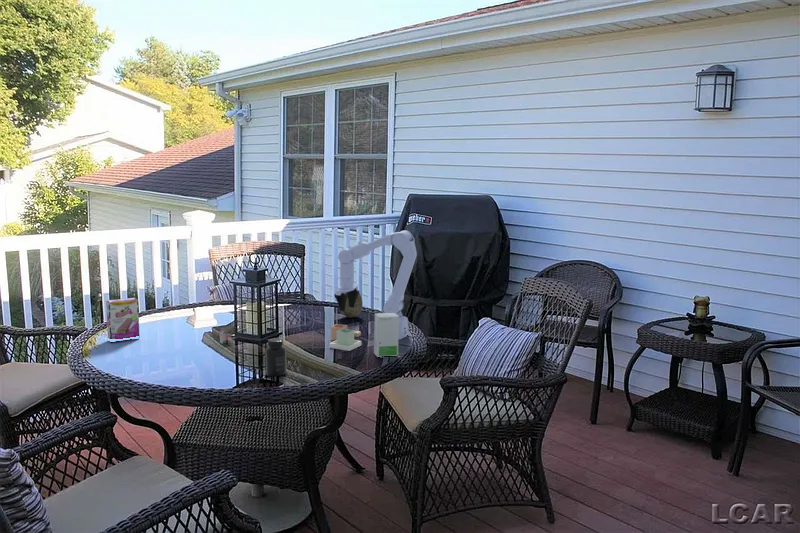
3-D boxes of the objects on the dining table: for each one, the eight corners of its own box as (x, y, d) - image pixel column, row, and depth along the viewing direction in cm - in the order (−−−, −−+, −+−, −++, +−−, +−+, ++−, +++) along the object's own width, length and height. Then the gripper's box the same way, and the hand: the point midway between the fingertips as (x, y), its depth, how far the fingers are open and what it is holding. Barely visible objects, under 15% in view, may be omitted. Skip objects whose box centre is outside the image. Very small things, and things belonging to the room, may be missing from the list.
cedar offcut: (360, 336, 272) (360, 331, 272) (357, 337, 270) (357, 333, 269) (348, 334, 275) (348, 329, 274) (344, 336, 272) (344, 331, 272)
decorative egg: (346, 313, 310) (346, 282, 308) (366, 316, 305) (366, 284, 303) (334, 318, 301) (334, 286, 298) (355, 321, 296) (355, 288, 294)
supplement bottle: (287, 370, 225) (287, 337, 223) (284, 377, 219) (284, 342, 217) (267, 370, 225) (267, 337, 223) (264, 377, 218) (263, 342, 216)
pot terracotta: (347, 338, 268) (347, 325, 267) (342, 341, 263) (342, 328, 262) (335, 337, 269) (335, 324, 269) (331, 340, 265) (331, 327, 264)
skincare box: (377, 358, 241) (377, 317, 239) (373, 353, 248) (373, 313, 245) (399, 356, 244) (399, 316, 241) (394, 351, 250) (395, 312, 247)
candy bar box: (110, 343, 255) (108, 302, 252) (107, 340, 259) (105, 300, 256) (140, 339, 261) (138, 299, 259) (137, 336, 265) (135, 297, 263)
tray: (361, 345, 258) (361, 340, 257) (349, 351, 250) (349, 346, 250) (341, 342, 262) (341, 337, 261) (329, 347, 254) (329, 343, 254)
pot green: (354, 343, 257) (354, 330, 256) (347, 346, 252) (347, 333, 252) (343, 342, 259) (343, 328, 258) (336, 345, 255) (336, 331, 254)
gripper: (347, 273, 282) (347, 304, 284) (329, 279, 269) (329, 311, 271) (362, 275, 279) (361, 306, 281) (344, 280, 266) (344, 313, 268)
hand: (347, 309), depth 276 cm, fingers open, 7 cm apart
